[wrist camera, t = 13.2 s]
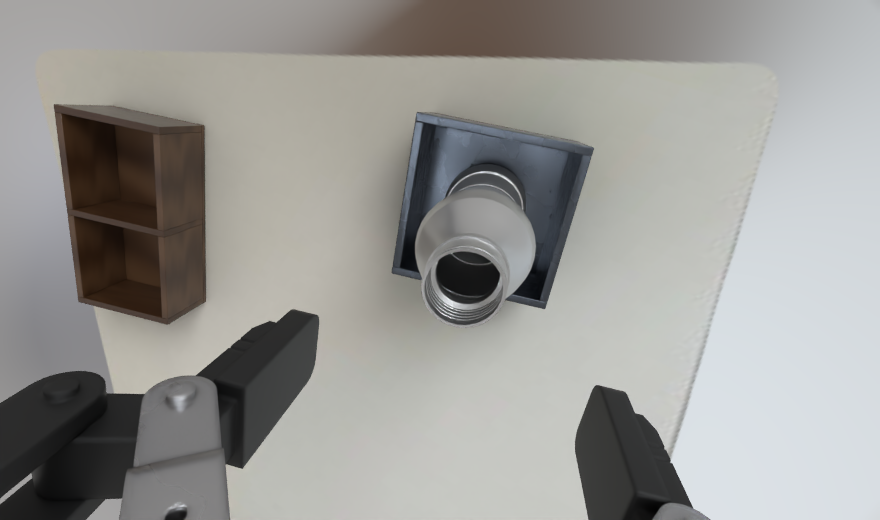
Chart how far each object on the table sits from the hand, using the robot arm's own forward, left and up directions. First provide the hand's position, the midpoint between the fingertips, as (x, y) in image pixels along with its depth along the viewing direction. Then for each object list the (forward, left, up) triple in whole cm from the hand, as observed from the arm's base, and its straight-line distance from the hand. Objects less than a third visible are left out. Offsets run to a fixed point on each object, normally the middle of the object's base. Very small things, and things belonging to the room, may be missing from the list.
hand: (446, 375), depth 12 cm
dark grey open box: (0, 0, -27) cm, 27 cm away
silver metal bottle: (0, 0, -26) cm, 26 cm away
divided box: (+8, -31, -27) cm, 42 cm away
